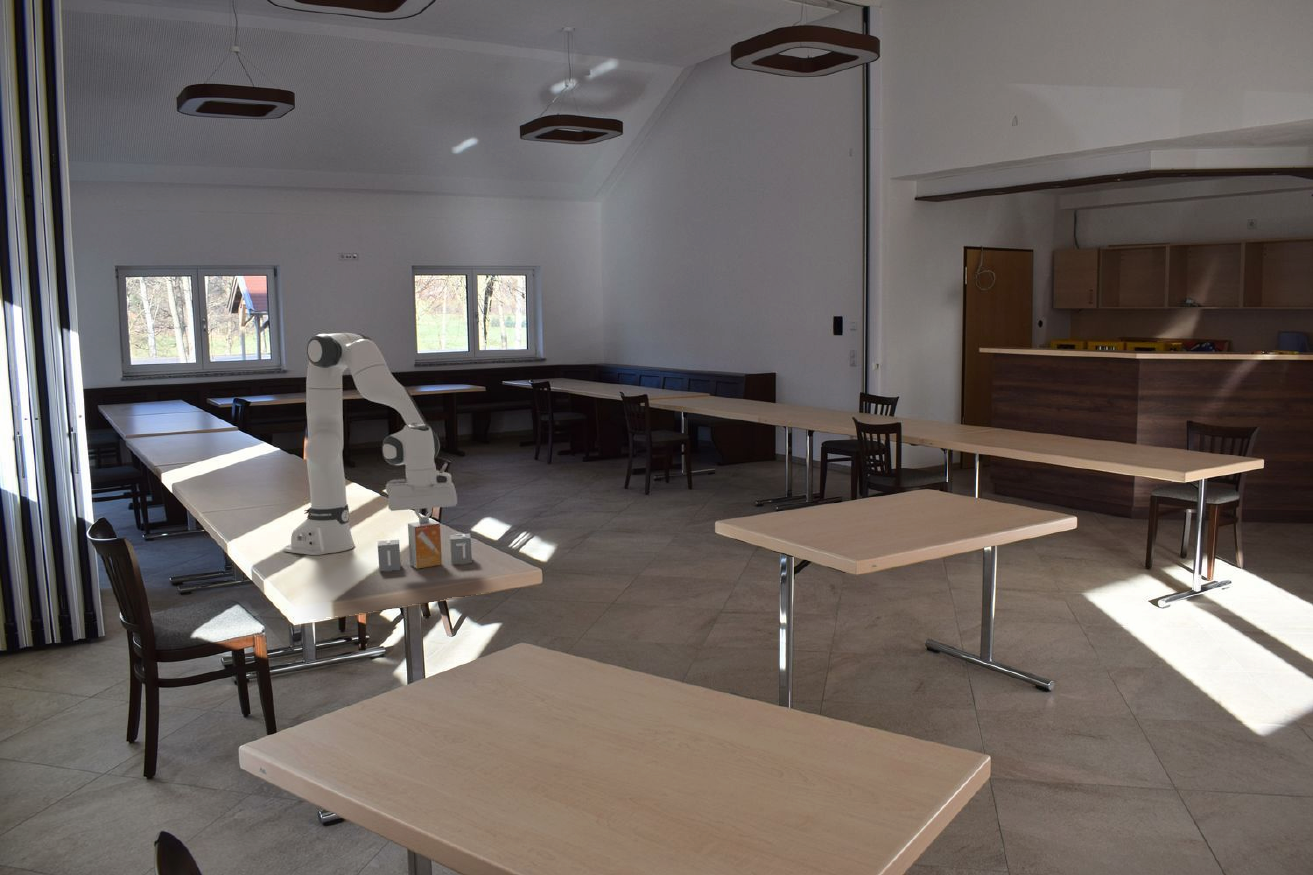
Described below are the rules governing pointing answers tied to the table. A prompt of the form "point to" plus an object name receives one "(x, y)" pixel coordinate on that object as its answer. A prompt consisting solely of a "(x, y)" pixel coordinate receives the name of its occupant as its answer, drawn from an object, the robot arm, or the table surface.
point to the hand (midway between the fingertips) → (424, 522)
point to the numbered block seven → (460, 548)
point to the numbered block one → (389, 555)
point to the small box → (424, 544)
